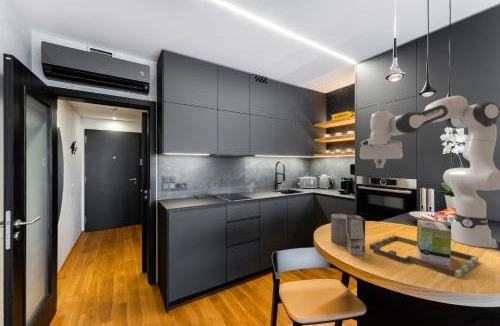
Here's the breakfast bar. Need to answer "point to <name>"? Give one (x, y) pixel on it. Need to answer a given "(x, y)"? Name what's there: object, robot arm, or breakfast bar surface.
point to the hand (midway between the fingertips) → (379, 167)
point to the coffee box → (355, 234)
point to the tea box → (434, 242)
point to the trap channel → (392, 255)
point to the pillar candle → (338, 229)
